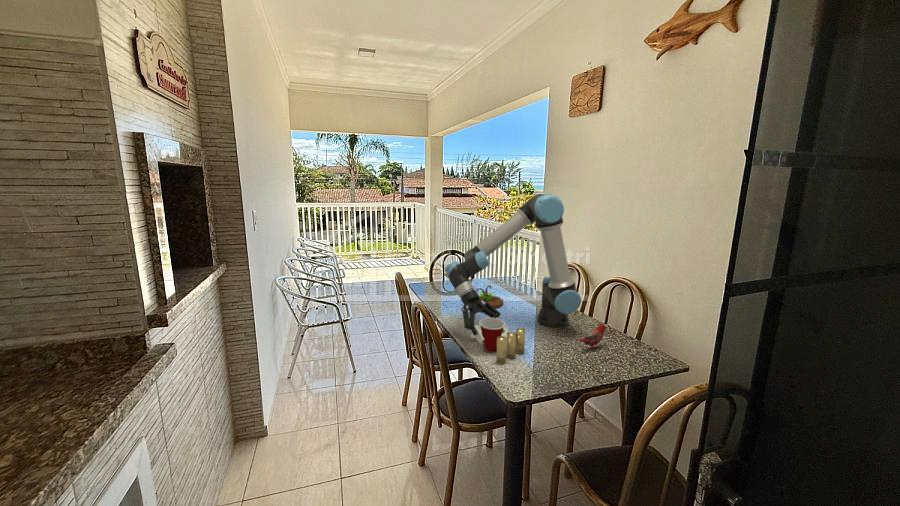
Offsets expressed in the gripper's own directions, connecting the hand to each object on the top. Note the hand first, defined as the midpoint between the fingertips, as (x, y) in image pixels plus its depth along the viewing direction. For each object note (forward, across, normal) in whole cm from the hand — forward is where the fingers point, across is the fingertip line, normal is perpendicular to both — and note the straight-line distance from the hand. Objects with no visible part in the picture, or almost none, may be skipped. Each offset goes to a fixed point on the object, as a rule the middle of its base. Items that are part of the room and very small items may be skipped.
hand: (493, 336), depth 152 cm
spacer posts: (+11, 0, +2) cm, 11 cm away
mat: (-5, -13, -13) cm, 19 cm away
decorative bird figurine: (+23, -30, +15) cm, 41 cm away
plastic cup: (+4, 0, -5) cm, 6 cm away
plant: (-26, -44, -35) cm, 62 cm away
